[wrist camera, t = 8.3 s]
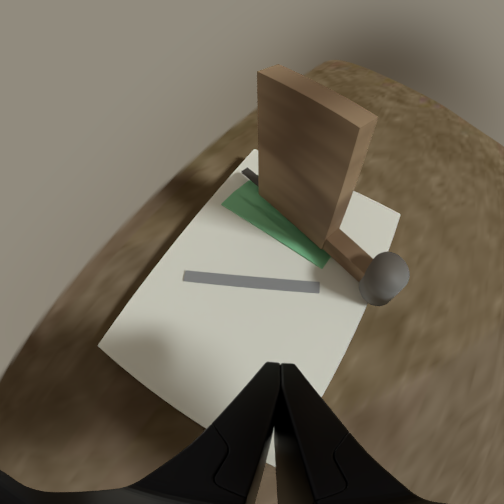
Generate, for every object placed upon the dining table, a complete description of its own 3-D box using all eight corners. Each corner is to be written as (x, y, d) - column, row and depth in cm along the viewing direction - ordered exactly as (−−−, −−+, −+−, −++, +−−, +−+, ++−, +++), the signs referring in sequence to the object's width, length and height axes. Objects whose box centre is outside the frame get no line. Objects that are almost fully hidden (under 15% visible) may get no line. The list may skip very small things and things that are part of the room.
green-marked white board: (395, 223, 18) (401, 213, 17) (276, 464, 12) (277, 468, 11) (254, 159, 21) (254, 147, 20) (105, 349, 15) (96, 345, 14)
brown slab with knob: (400, 288, 14) (484, 191, 7) (378, 313, 14) (467, 223, 7) (256, 163, 19) (254, 49, 12) (232, 178, 18) (220, 61, 11)
